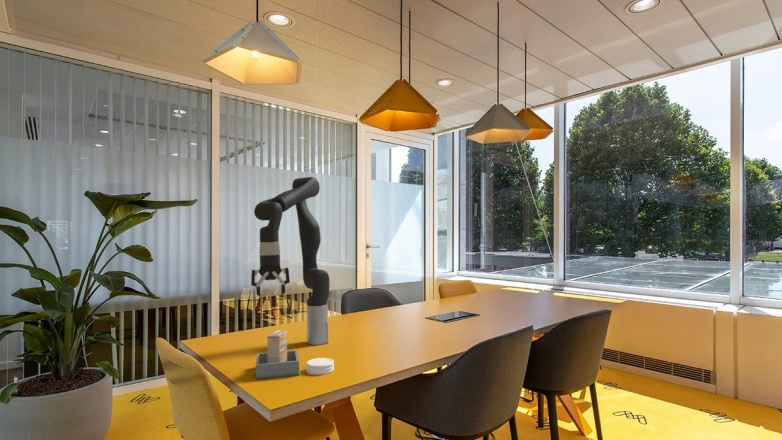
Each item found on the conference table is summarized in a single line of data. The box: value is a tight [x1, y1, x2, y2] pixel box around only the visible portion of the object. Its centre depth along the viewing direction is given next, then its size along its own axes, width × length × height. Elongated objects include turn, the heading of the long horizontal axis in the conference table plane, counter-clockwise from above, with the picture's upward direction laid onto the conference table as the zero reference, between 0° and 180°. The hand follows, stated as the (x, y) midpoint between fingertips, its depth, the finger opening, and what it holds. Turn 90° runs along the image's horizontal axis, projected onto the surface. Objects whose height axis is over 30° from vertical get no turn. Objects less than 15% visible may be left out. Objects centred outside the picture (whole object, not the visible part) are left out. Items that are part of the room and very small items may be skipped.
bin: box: [255, 349, 300, 381], centre depth 158 cm, size 15×15×5 cm
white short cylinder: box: [305, 357, 335, 376], centre depth 158 cm, size 10×10×4 cm
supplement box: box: [266, 330, 288, 363], centre depth 159 cm, size 8×5×13 cm, turn 175°
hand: (271, 295), depth 168 cm, fingers open, 8 cm apart
